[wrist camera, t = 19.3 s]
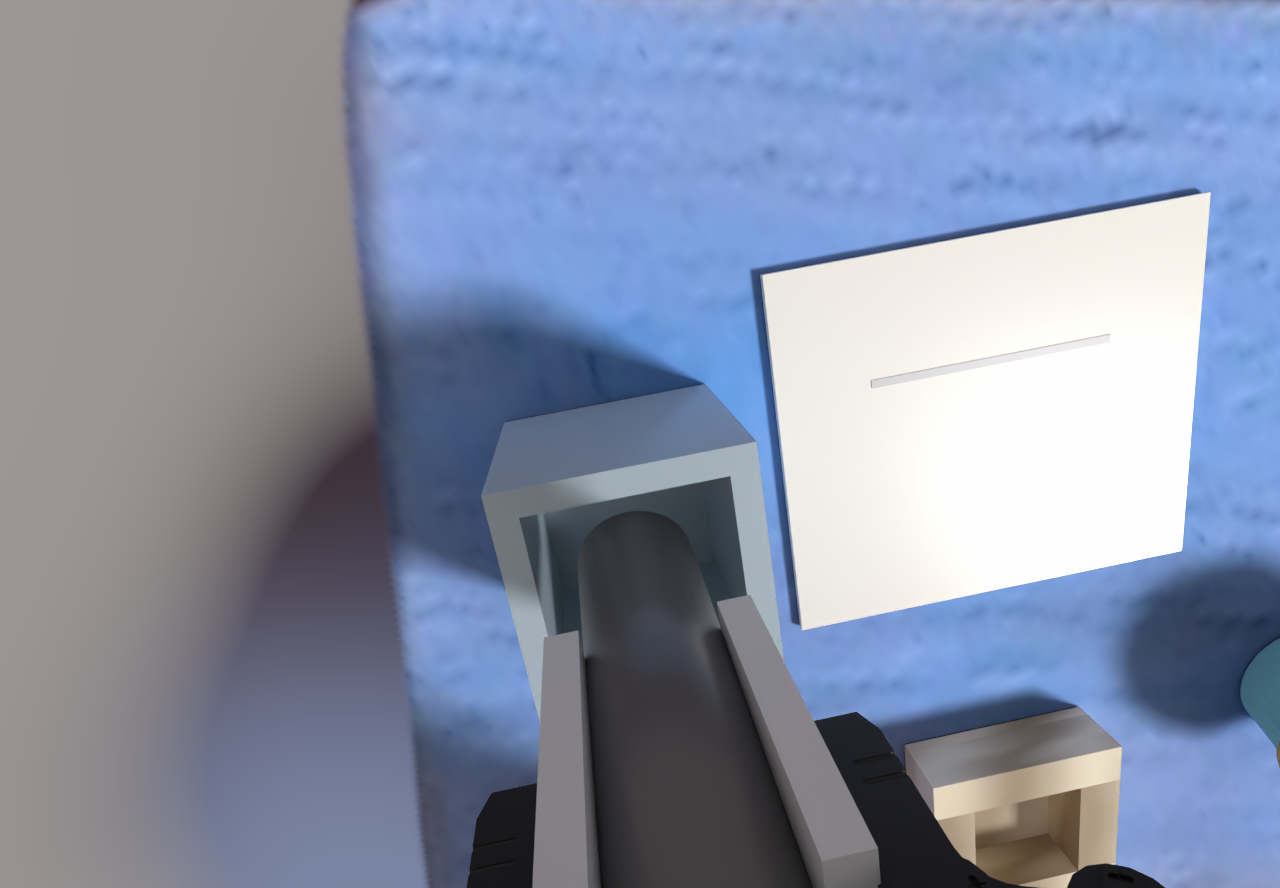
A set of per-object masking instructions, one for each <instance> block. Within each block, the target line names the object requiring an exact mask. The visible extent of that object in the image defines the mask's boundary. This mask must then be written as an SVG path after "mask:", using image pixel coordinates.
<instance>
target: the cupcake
mask: <svg viewBox="0 0 1280 888" xmlns="http://www.w3.org/2000/svg"><path fill="white" fill-rule="evenodd" d="M1240 696H1241V701H1242V704H1243V706H1244V708H1245V709H1246V711H1247V712H1248V713H1249V715H1250V716H1251V717H1252V718H1253V719H1254V720H1255V722H1256V723H1257V724H1258V725H1259V727H1260V728H1261V729H1262V730H1263V731H1264V733H1265V734H1266V735H1267V737H1268V738H1269V739H1270V740H1271V742H1272V743H1273V744H1274V746H1275V747H1276V749H1277V759H1278V763H1279V766H1280V638H1279V639H1277V640H1275V641H1273V642H1272V643H1270V644H1269V645H1268V646H1266V647H1265V648H1264V649H1263V650H1261V651H1260V652H1259V653H1258V654H1257V655H1256V657H1255V658H1254V659H1253V660H1252V661H1251V663H1250V664H1249V666H1248V667H1247V669H1246V671H1245V673H1244V676H1243V678H1242V682H1241V688H1240Z"/></svg>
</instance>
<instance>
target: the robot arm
mask: <svg viewBox="0 0 1280 888" xmlns="http://www.w3.org/2000/svg"><path fill="white" fill-rule="evenodd" d="M717 608H718V614H719V621H720V627H721V632H722V635H723V637H724V640H725V643H726V646H727V649H728V651H729V654H730V657H731V660H732V663H733V665H734V668H735V671H736V674H737V677H738V679H739V682H740V685H741V688H742V691H743V693H744V696H745V699H746V702H747V705H748V707H749V710H750V713H751V716H752V719H753V721H754V724H755V727H756V730H757V733H758V735H759V738H760V741H761V744H762V747H763V749H764V752H765V755H766V758H767V761H768V763H769V766H770V769H771V772H772V775H773V777H774V780H775V783H776V786H777V789H778V791H779V794H780V797H781V800H782V803H783V805H784V808H785V811H786V814H787V817H788V819H789V822H790V825H791V828H792V831H793V833H794V836H795V839H796V842H797V845H798V847H799V850H800V853H801V856H802V859H803V861H804V864H805V867H806V870H807V873H808V875H809V878H810V881H811V884H812V887H813V888H1038V887H1027V886H1020V885H1015V884H1009V883H1005V882H1002V881H1000V880H997V879H994V878H992V877H989V876H988V875H987V874H986V873H985V872H984V871H982V870H981V869H980V868H979V867H977V866H976V865H975V864H973V863H972V862H971V861H969V860H967V859H965V858H962V857H961V855H960V854H959V853H958V852H957V850H956V849H955V848H954V846H953V845H952V844H951V842H950V840H949V839H948V837H947V836H946V834H945V832H944V831H943V829H942V828H941V826H940V824H939V823H938V821H937V820H936V818H935V816H934V815H933V813H932V812H931V810H930V808H929V807H928V805H927V804H926V802H925V800H924V799H923V797H922V796H921V794H920V793H919V791H918V789H917V788H916V786H915V785H914V783H913V781H912V780H911V778H910V777H909V775H907V774H906V770H905V769H904V767H903V765H902V764H901V762H900V761H899V759H898V757H897V756H895V754H894V751H893V749H892V748H891V746H890V745H889V743H888V741H887V740H886V738H885V737H884V735H883V733H882V732H881V730H880V729H879V728H878V727H876V726H875V725H874V724H872V723H871V722H869V721H868V720H867V719H865V718H864V717H863V716H861V715H860V714H859V713H857V712H854V713H849V714H844V715H840V716H835V717H831V718H826V719H821V720H817V721H814V720H813V718H812V716H811V714H810V712H809V710H808V708H807V706H806V704H805V702H804V700H803V698H802V696H801V695H800V693H799V691H798V689H797V687H796V685H795V683H794V681H793V679H792V677H791V675H790V673H789V671H788V669H787V667H786V665H785V663H784V661H783V659H782V657H781V655H780V653H779V651H778V649H777V647H776V645H775V643H774V641H773V639H772V637H771V635H770V633H769V631H768V629H767V627H766V625H765V623H764V621H763V619H762V617H761V615H760V613H759V611H758V609H757V607H756V605H755V603H754V601H753V599H752V597H751V595H747V596H742V597H737V598H732V599H727V600H722V601H718V602H717ZM467 888H602V887H601V873H600V860H599V846H598V832H597V818H596V804H595V791H594V777H593V763H592V749H591V736H590V722H589V708H588V694H587V680H586V667H585V657H584V653H583V649H582V644H581V640H580V636H579V631H573V632H568V633H563V634H559V635H554V636H549V637H544V647H543V668H542V690H541V712H540V733H539V755H538V776H537V783H536V784H531V785H527V786H522V787H518V788H513V789H508V790H504V791H499V792H495V793H492V794H491V795H490V797H489V799H488V801H487V802H486V804H485V806H484V808H483V809H482V811H481V813H480V815H479V816H478V818H477V822H476V829H475V835H474V842H473V852H472V856H471V863H470V875H469V877H468V884H467ZM1067 888H1165V887H1163V886H1162V885H1161V884H1160V883H1158V882H1157V881H1156V880H1154V879H1153V878H1151V877H1149V876H1146V875H1144V874H1142V873H1140V872H1138V871H1135V870H1133V869H1131V868H1128V867H1123V866H1118V865H1113V864H1107V863H1104V864H1096V865H1087V866H1085V867H1084V868H1082V869H1080V870H1079V871H1077V872H1076V873H1074V874H1073V875H1072V877H1071V879H1070V882H1069V884H1068V886H1067Z"/></svg>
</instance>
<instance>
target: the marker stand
mask: <svg viewBox="0 0 1280 888" xmlns="http://www.w3.org/2000/svg"><path fill="white" fill-rule="evenodd" d="M1121 755H1122V746H1121V745H1120V744H1119V743H1117V742H1116V741H1115V740H1114V739H1113V738H1112V737H1111V736H1110V735H1109V734H1108V733H1107V732H1106V731H1105V730H1104V729H1102V728H1101V727H1100V726H1099V725H1098V724H1097V723H1096V722H1095V721H1094V720H1093V719H1092V718H1091V717H1090V716H1089V715H1087V714H1086V713H1085V712H1084V711H1083V710H1082V709H1081V708H1080V707H1075V708H1071V709H1066V710H1061V711H1057V712H1052V713H1048V714H1043V715H1039V716H1034V717H1029V718H1025V719H1020V720H1016V721H1011V722H1007V723H1002V724H997V725H993V726H988V727H984V728H979V729H975V730H970V731H965V732H961V733H956V734H952V735H947V736H943V737H938V738H933V739H929V740H924V741H920V742H915V743H911V744H906V745H905V761H906V774H907V775H909V777H910V778H911V780H912V781H913V783H914V785H915V786H916V788H917V789H918V791H919V793H920V794H921V796H922V797H923V799H924V800H925V802H926V804H927V805H928V807H929V808H930V810H931V812H932V813H933V815H934V816H935V818H936V820H937V821H938V823H939V824H940V826H941V828H942V829H943V831H944V832H945V834H946V836H947V837H948V839H949V840H950V842H951V844H952V845H953V846H954V848H955V849H956V850H957V852H958V853H959V854H960V855H961V857H962V858H965V859H967V860H969V861H971V862H972V863H973V864H975V865H976V866H977V867H979V868H980V869H981V870H982V871H984V872H985V873H986V874H987V875H988V876H989V877H992V878H994V879H997V880H1000V881H1002V882H1005V883H1009V884H1015V885H1020V886H1027V887H1038V888H1067V886H1068V884H1069V882H1070V879H1071V877H1072V875H1073V874H1074V873H1076V872H1077V871H1079V870H1080V869H1082V868H1084V867H1085V866H1087V865H1096V864H1104V863H1107V864H1113V865H1115V861H1116V843H1117V826H1118V808H1119V790H1120V773H1121Z"/></svg>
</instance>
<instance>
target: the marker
mask: <svg viewBox="0 0 1280 888" xmlns="http://www.w3.org/2000/svg"><path fill="white" fill-rule="evenodd" d="M577 567H578V582H579V596H580V611H581V625H582V639H583V653H584V657H585V667H586V680H587V694H588V708H589V722H590V736H591V749H592V763H593V777H594V791H595V804H596V818H597V832H598V846H599V860H600V873H601V887H602V888H813V887H812V884H811V881H810V878H809V875H808V873H807V870H806V867H805V864H804V861H803V859H802V856H801V853H800V850H799V847H798V845H797V842H796V839H795V836H794V833H793V831H792V828H791V825H790V822H789V819H788V817H787V814H786V811H785V808H784V805H783V803H782V800H781V797H780V794H779V791H778V789H777V786H776V783H775V780H774V777H773V775H772V772H771V769H770V766H769V763H768V761H767V758H766V755H765V752H764V749H763V747H762V744H761V741H760V738H759V735H758V733H757V730H756V727H755V724H754V721H753V719H752V716H751V713H750V710H749V707H748V705H747V702H746V699H745V696H744V693H743V691H742V688H741V685H740V682H739V679H738V677H737V674H736V671H735V668H734V665H733V663H732V660H731V657H730V654H729V651H728V649H727V646H726V643H725V640H724V637H723V635H722V632H721V627H720V624H719V621H718V618H717V616H716V613H715V610H714V607H713V604H712V602H711V599H710V596H709V593H708V591H707V588H706V585H705V582H704V579H703V577H702V574H701V571H700V568H699V565H698V563H697V560H696V557H695V554H694V551H693V549H692V546H691V543H690V541H689V539H688V536H687V535H686V533H685V532H684V530H683V529H682V528H681V527H680V526H679V525H678V524H677V523H675V522H674V521H673V520H671V519H669V518H668V517H665V516H663V515H661V514H657V513H654V512H648V511H630V512H625V513H621V514H617V515H615V516H612V517H610V518H608V519H606V520H605V521H603V522H601V523H600V524H599V525H597V526H596V527H595V528H594V529H593V530H592V531H591V532H590V533H589V534H588V536H587V537H586V538H585V540H584V542H583V543H582V546H581V548H580V551H579V554H578V561H577Z"/></svg>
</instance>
